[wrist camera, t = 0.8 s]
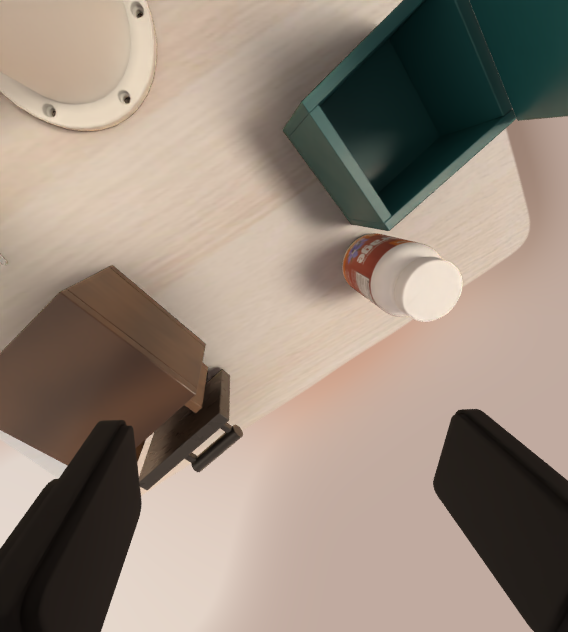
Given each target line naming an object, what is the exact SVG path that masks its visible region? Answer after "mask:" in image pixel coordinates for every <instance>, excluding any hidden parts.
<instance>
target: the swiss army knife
mask: <svg viewBox="0 0 568 632" xmlns="http://www.w3.org/2000/svg"><path fill="white" fill-rule="evenodd" d="M0 263H1V264H2V265H6V264H8V261H7V260H6V259H5V258H4V257H3V256H2V255H1V254H0Z"/></svg>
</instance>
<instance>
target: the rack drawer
mask: <svg viewBox="0 0 568 632" xmlns="http://www.w3.org/2000/svg"><path fill="white" fill-rule="evenodd" d="M207 371H208V367H207V366H206V365H205V364H204V363H202V366H201V371H200V376H199V382H198V387H197V392H196V395H195V396H194V397H193V398H192V399H190V400H189V401H188V402H187V403H186V404H185V405H184V406H182V407H181V408H180V409H179V410H178V411H177V412H176V413H175V414H173V415H172V416H171V417H170V418H169V419H168V420H167V421H166V422H164V423H163V424H162V425H161V426H160V427H159V428H158V429H157V430H155V432H154V435H153V438H152V441H151V444H150V447H149V450H148V453H147V456H146V459H145V462H144V465H143V467H142V470H141V473H140V476H139V484H140V487H142V488H144V489H146V490H148V489H149V488H151V487H152V486H153V485H154V484H155V483H156V482H158V481H159V480H160V479H161V478H162V477H163V476H165V475H166V474H167V473H168V472H169V471H170V470H172V469H173V468H174V467H175V466H176V465H177V464H179V463H180V462H181V461H182V460H183V459H184V458H185V459H186V460H188V461H189V462H191V463H192V467H193V469H194V470H195V471H197V472H200V471H202V470H203V469H204V468H205V467H206V466H207V465H209V464H210V463H211V462H212V461H213V460H215V459H216V458H217V457H218V456H219V455H221V454H222V453H223V452H224V451H225V450H226V449H227V448H229V447H230V446H231V445H233V444H234V443H235V442H236V441H237V440H238V439H240V438H241V437H242V436H243V432H242V430H241V429H240V427H239V426H237V425H233V426H231V425H229V424H228V423H227V422H228V421H229V397H230V375H229V374H227V373H226V372H225V371H224V370H221V371H220V372H218V373H217V374H216V375H215V376H214V377H213V378H212V379H211V380H209V381H208V382H207V383H206V377H207ZM219 428H221V429H222V430H224V431H225V433H224V434H223V435H222V436H220V437H219V438H218V439H217V440H216V441H215V442H213V443H212V444H211V445H210V446H209V447H208V448H206V449H205V450H204V451H203V452H202V453H200V454H199V455H198V456H196V455H195V454H193V453H192V452H193V451H194V450H195V449H196V448H197V447H198V446H200V445H201V444H202V443H203V442H204V441H205V440H207V439H208V438H209V437H210V436H211V435H212V434H214V433H215V432H216V431H217V430H218V429H219ZM145 440H146V439H145ZM145 440H144V441H143V442H142V443H141V444H140V445H139V446H137V447H136V457H137V462H138V459H139V456H140V453H141V451H142V448H143V445H144V443H145Z"/></svg>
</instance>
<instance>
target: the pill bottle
mask: <svg viewBox="0 0 568 632" xmlns="http://www.w3.org/2000/svg"><path fill="white" fill-rule="evenodd" d="M342 270H343V275H344V277H345V280H346V281H347V283H348V284H349V285H350V286H351V287H352V288H354V289H355V290H356V291H358V292H359V293H360V294H362V295H363V296H364V297H366V298H367V299H369V300H370V301H371V302H373V303H374V304H375V305H377V306H378V307H379V308H381V309H382V310H383V311H385V312H387V313H388V314H390V315H393V316H397V317H411V318H413V319H415V320H417V321H422V322H428V321H434V320H437V319H439V318H441V317H443V316H444V315H446V314H447V313H448V312H449V311H450V310H451V309H452V308H453V307H454V306H455V304H456V303H457V301H458V299H459V297H460V295H461V291H462V276H461V273H460V271H459V270H458V268H457V267H456V266H455V265H454V264H453V263H451V262H449V261H447V260H444V259H442V258H441V256H440V255H439V254H438V253H437V252H436V251H435V250H434V249H433V248H431V247H429V246H427V245H424V244H421V243H417V242H413V241H408V240H403V239H399V238H395V237H391V236H386V235H382V234H367V235H364V236H362V237H360V238H358V239H357V240H355V241H354V242H353V243H352V244H351V245H350V247H349V248H348V249H347V251H346V253H345V255H344V258H343V263H342Z"/></svg>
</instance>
